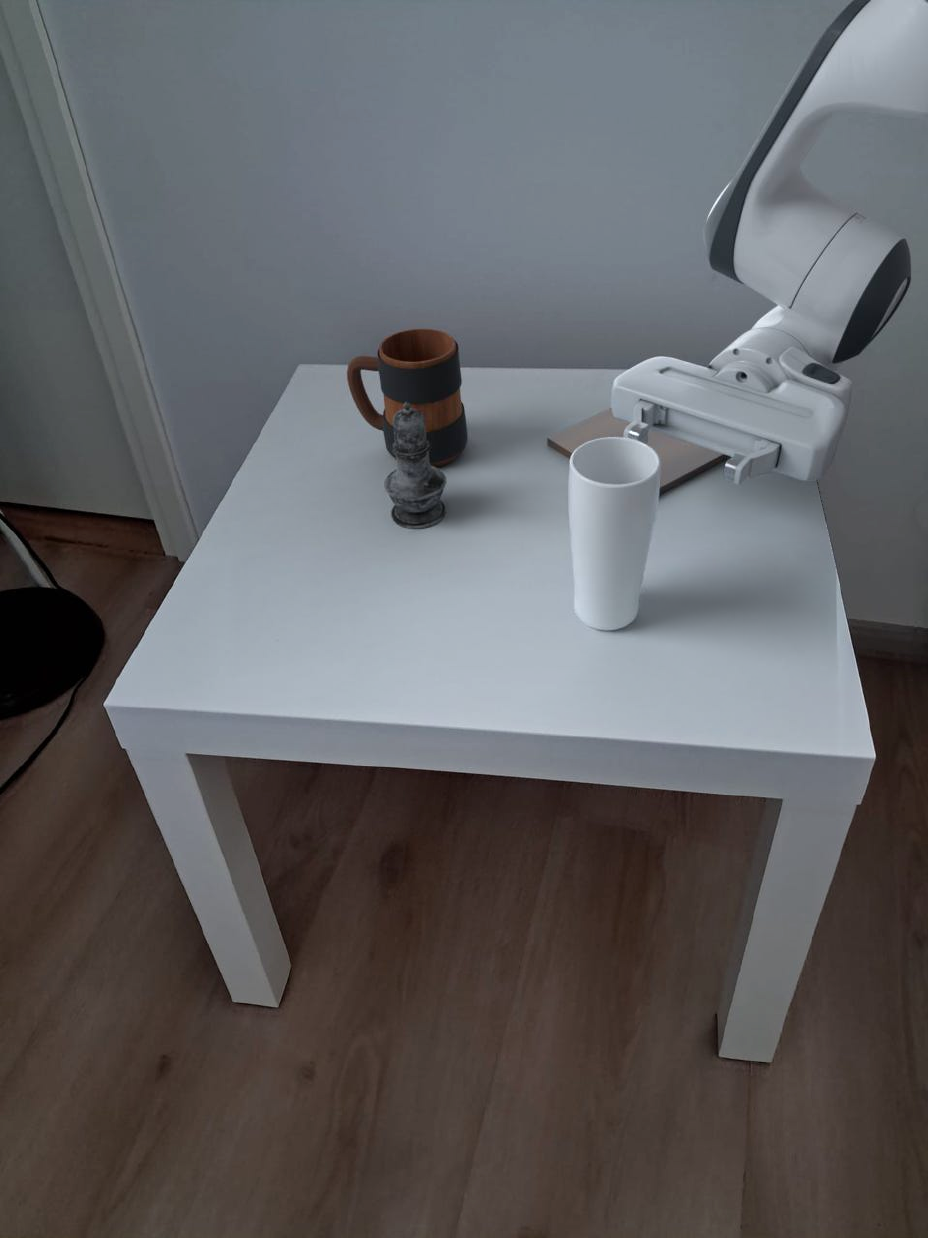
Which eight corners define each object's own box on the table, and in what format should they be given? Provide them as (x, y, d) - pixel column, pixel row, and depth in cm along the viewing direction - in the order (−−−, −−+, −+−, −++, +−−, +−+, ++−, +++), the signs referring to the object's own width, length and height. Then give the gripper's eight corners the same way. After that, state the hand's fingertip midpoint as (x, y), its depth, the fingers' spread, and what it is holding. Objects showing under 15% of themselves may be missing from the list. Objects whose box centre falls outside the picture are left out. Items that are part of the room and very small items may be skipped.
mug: (369, 422, 103) (355, 321, 95) (475, 429, 101) (470, 326, 93) (345, 465, 97) (327, 362, 89) (457, 474, 95) (450, 368, 87)
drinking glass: (651, 591, 80) (667, 440, 70) (640, 645, 75) (656, 491, 65) (573, 580, 82) (577, 431, 71) (558, 633, 77) (560, 481, 67)
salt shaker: (384, 499, 92) (369, 390, 84) (443, 490, 93) (434, 381, 85) (392, 535, 88) (377, 423, 80) (453, 525, 88) (444, 413, 80)
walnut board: (742, 450, 95) (743, 443, 94) (642, 504, 89) (642, 497, 89) (643, 398, 104) (644, 391, 103) (546, 444, 98) (546, 437, 97)
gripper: (657, 326, 88) (575, 388, 81) (872, 385, 79) (802, 462, 71) (651, 386, 93) (574, 451, 85) (854, 449, 83) (787, 529, 75)
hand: (679, 457), depth 78 cm, fingers open, 8 cm apart
